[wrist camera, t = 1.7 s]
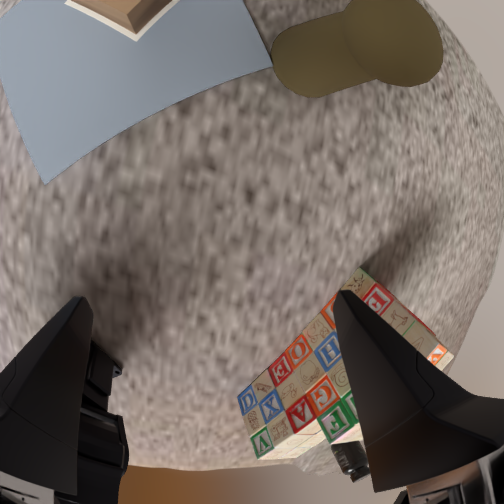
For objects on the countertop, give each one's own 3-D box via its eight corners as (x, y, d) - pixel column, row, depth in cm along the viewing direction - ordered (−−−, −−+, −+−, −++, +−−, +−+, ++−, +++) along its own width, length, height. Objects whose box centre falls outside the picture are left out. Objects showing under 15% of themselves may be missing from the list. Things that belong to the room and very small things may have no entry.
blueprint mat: (46, 184, 15) (44, 185, 15) (-9, 29, 7) (-11, 28, 7) (271, 66, 16) (273, 65, 16) (192, -79, 8) (193, -81, 7)
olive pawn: (329, 111, 18) (446, 122, 9) (258, 76, 16) (348, 38, 7) (353, 50, 16) (465, 33, 7) (287, 13, 14) (380, -48, 4)
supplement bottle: (333, 449, 54) (351, 485, 43) (327, 445, 50) (346, 484, 40) (357, 436, 54) (377, 471, 43) (353, 431, 50) (374, 469, 40)
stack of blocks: (272, 402, 34) (303, 478, 23) (235, 396, 31) (262, 483, 20) (386, 287, 29) (456, 356, 18) (358, 264, 26) (442, 344, 15)
